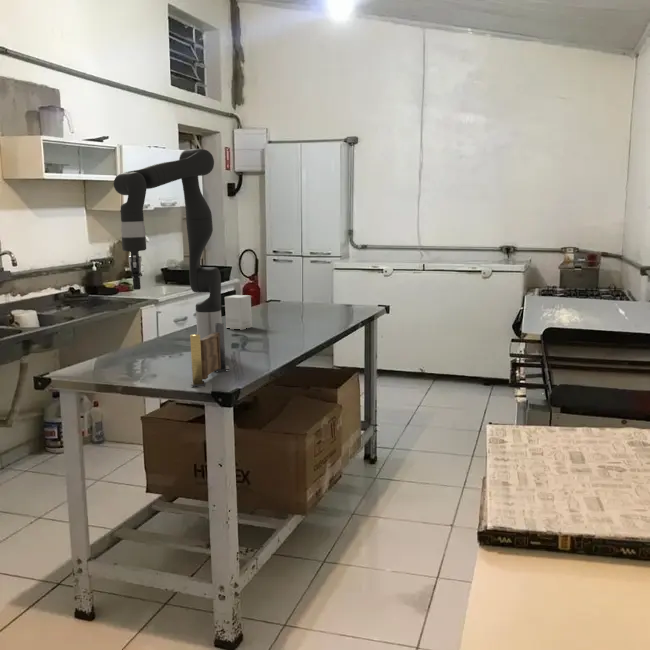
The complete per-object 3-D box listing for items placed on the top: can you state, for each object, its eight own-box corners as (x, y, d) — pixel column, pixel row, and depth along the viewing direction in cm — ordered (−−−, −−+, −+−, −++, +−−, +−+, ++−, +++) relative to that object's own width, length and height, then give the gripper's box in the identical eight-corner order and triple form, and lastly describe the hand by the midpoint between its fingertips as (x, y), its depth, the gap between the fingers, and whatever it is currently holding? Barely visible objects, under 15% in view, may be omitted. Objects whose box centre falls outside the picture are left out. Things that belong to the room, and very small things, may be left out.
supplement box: (252, 327, 322) (251, 295, 320) (241, 330, 314) (240, 297, 312) (236, 326, 326) (235, 294, 324) (225, 329, 319) (223, 296, 316)
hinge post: (213, 368, 239) (210, 323, 237) (228, 367, 240) (226, 322, 238) (214, 372, 234) (212, 325, 232) (229, 371, 235) (227, 324, 233)
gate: (215, 367, 235) (213, 331, 233) (222, 368, 235) (220, 331, 233) (196, 380, 219) (194, 340, 217) (203, 380, 218) (201, 341, 216)
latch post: (191, 384, 219) (188, 334, 216) (203, 383, 219) (201, 333, 217) (191, 387, 215) (188, 336, 212) (204, 386, 216) (202, 335, 213)
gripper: (145, 236, 218) (148, 291, 221) (146, 234, 231) (149, 286, 234) (120, 237, 217) (124, 292, 220) (122, 235, 229) (126, 287, 232)
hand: (137, 289), depth 227 cm, fingers closed
